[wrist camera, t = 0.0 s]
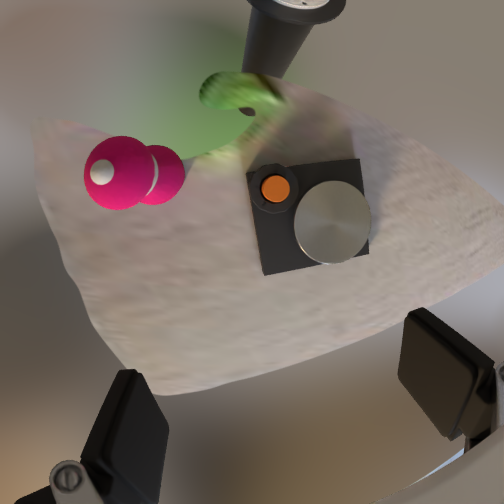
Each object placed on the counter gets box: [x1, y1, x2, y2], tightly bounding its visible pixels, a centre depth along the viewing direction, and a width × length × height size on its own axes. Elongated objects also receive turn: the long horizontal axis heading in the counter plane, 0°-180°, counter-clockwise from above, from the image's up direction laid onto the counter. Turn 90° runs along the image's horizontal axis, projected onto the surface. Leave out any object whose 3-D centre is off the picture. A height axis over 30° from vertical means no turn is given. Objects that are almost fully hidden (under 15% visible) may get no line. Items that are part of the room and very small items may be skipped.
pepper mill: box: [84, 136, 185, 210], centre depth 25 cm, size 7×7×20 cm
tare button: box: [262, 176, 290, 202], centre depth 33 cm, size 3×3×2 cm
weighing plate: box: [293, 181, 371, 264], centre depth 35 cm, size 11×11×1 cm
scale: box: [246, 159, 369, 276], centre depth 37 cm, size 14×16×3 cm
